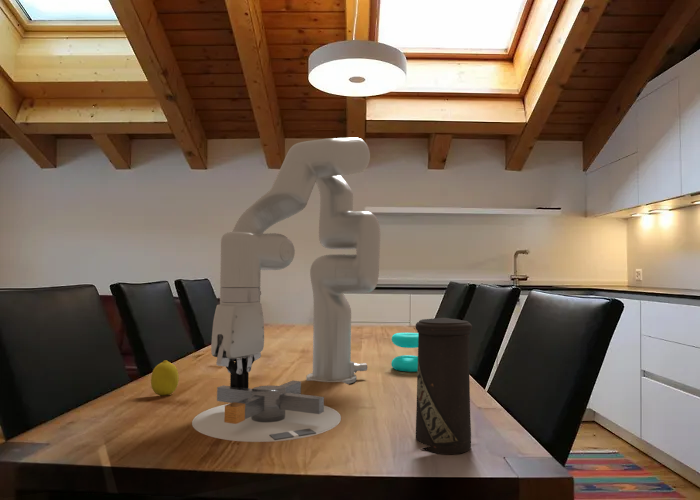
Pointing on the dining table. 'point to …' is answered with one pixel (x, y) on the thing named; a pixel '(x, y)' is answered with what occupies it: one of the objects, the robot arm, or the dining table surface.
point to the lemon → (164, 378)
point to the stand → (265, 425)
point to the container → (443, 385)
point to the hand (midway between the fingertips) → (239, 393)
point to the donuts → (405, 361)
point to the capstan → (267, 402)
